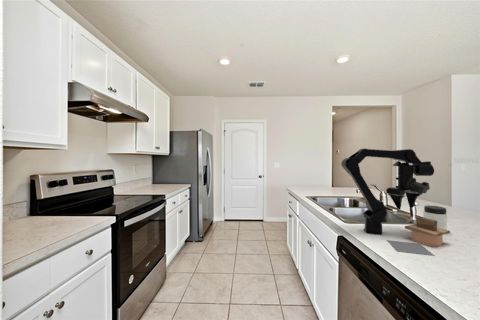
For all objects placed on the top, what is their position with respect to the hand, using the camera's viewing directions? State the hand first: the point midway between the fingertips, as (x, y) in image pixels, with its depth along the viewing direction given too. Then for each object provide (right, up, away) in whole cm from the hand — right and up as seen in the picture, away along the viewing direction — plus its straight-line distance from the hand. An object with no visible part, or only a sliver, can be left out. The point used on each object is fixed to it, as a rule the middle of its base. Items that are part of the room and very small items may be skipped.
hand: (405, 208), depth 102 cm
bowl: (+2, -13, -9) cm, 16 cm away
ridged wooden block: (+2, -8, -9) cm, 12 cm away
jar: (+18, -13, +5) cm, 23 cm away
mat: (-10, -13, -15) cm, 22 cm away
